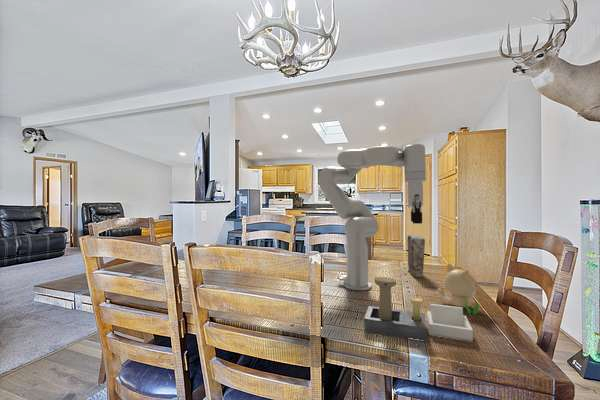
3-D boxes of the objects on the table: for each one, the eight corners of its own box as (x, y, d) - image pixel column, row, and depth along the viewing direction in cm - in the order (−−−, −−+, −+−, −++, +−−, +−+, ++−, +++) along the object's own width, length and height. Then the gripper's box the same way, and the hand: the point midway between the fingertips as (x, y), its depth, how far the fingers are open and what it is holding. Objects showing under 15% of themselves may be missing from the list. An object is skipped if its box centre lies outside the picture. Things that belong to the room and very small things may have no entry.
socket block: (364, 331, 84) (364, 318, 84) (368, 317, 94) (368, 305, 94) (426, 342, 78) (426, 328, 78) (424, 325, 88) (424, 313, 87)
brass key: (411, 323, 83) (411, 300, 83) (411, 319, 85) (411, 296, 85) (422, 325, 82) (422, 301, 82) (421, 320, 84) (421, 298, 84)
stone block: (426, 277, 140) (426, 238, 139) (412, 277, 140) (412, 238, 140) (417, 270, 153) (417, 234, 153) (404, 270, 153) (404, 234, 153)
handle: (397, 331, 84) (396, 282, 84) (375, 329, 85) (374, 281, 85) (395, 324, 88) (395, 277, 88) (374, 322, 90) (374, 276, 90)
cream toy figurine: (489, 314, 96) (489, 271, 96) (464, 316, 95) (463, 272, 95) (458, 298, 111) (458, 261, 111) (436, 300, 109) (436, 262, 109)
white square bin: (429, 335, 81) (429, 315, 81) (427, 321, 91) (427, 303, 91) (472, 342, 77) (472, 321, 77) (465, 327, 87) (465, 307, 87)
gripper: (403, 179, 115) (404, 220, 114) (405, 175, 98) (406, 224, 98) (423, 178, 112) (424, 220, 112) (428, 174, 96) (430, 224, 96)
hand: (416, 222), depth 105 cm, fingers open, 9 cm apart
